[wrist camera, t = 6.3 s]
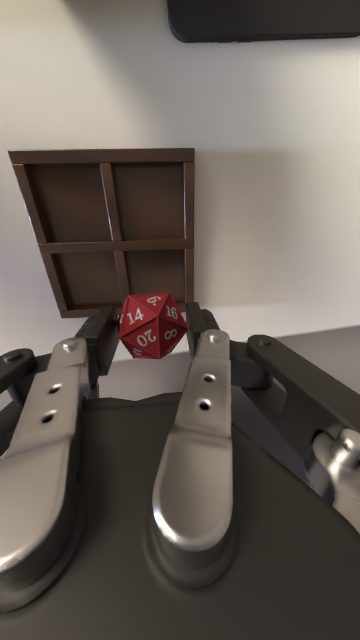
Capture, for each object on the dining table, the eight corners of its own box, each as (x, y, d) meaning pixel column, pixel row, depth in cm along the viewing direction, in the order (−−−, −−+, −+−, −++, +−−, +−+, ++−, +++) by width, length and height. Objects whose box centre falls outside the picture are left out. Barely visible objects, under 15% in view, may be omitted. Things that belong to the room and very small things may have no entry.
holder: (17, 154, 17) (6, 149, 16) (192, 152, 18) (194, 147, 16) (66, 313, 24) (61, 318, 22) (192, 307, 24) (193, 312, 23)
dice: (158, 267, 12) (156, 289, 9) (193, 323, 14) (203, 359, 11) (108, 298, 13) (87, 330, 9) (148, 347, 15) (143, 388, 11)
